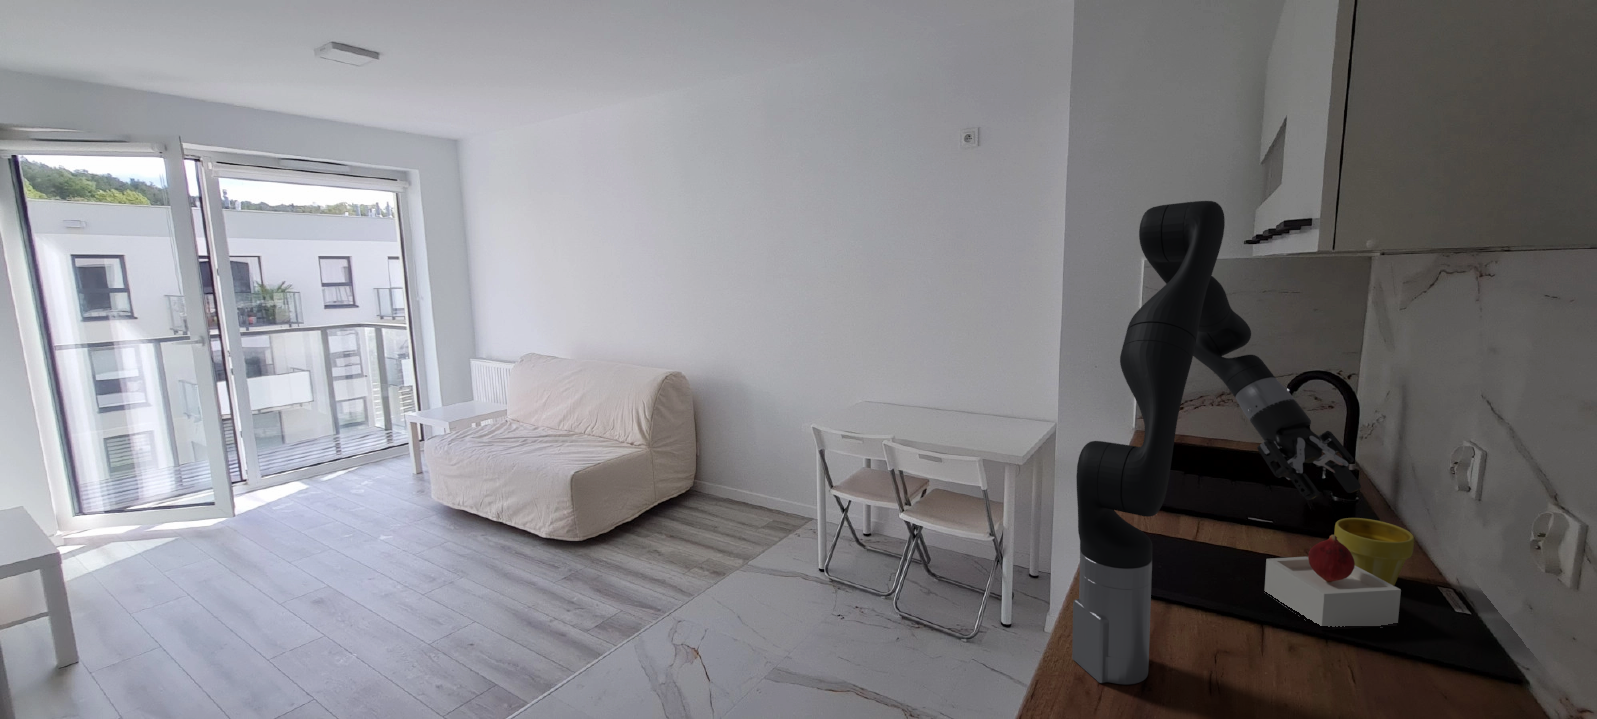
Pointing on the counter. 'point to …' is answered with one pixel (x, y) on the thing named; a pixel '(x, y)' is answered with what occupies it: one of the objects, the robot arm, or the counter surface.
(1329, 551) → the onion
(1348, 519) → the plant pot
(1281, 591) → the tray
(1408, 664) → the counter surface
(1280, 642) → the counter surface
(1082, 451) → the robot arm
